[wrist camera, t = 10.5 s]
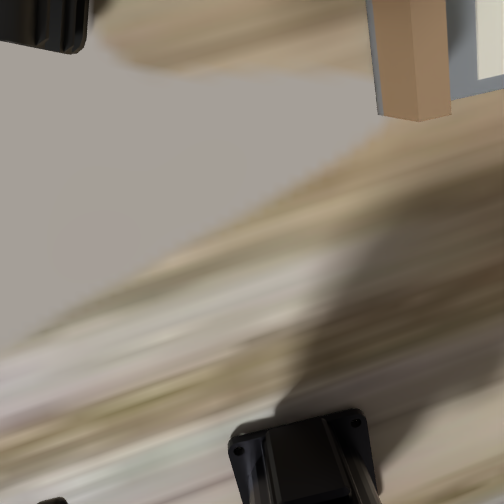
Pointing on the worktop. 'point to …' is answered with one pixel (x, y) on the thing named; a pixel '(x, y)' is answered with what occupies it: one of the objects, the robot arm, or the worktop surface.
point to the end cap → (45, 24)
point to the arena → (434, 54)
